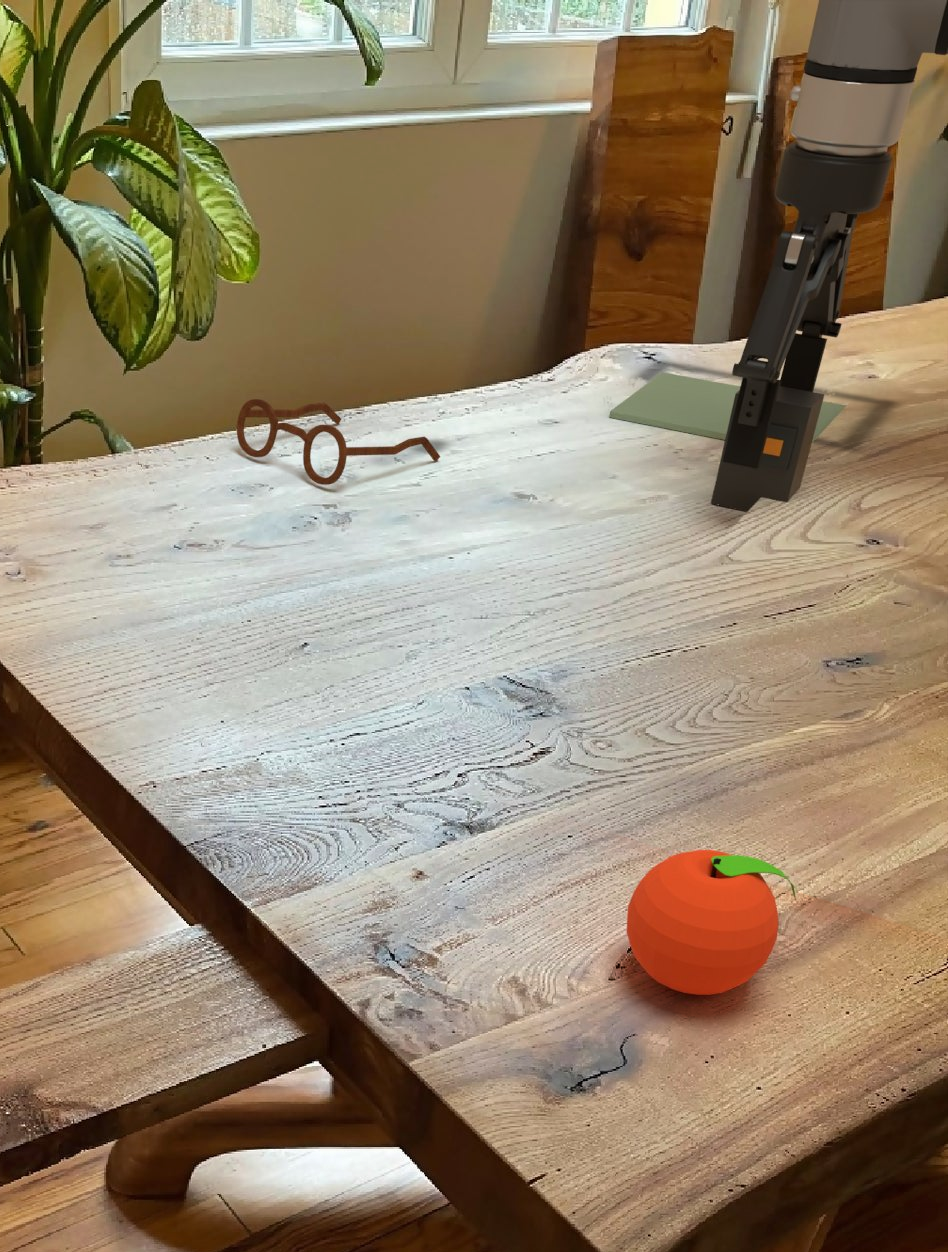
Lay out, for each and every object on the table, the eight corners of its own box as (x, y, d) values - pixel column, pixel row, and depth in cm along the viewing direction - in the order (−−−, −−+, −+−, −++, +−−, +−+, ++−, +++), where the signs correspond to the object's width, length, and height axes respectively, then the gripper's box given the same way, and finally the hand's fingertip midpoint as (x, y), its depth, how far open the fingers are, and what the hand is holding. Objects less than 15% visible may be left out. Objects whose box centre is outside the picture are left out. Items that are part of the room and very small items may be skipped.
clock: (795, 504, 123) (824, 393, 117) (781, 521, 120) (810, 408, 114) (724, 489, 125) (750, 380, 119) (709, 505, 122) (733, 394, 117)
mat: (883, 418, 141) (885, 412, 140) (844, 463, 131) (846, 456, 130) (660, 378, 150) (662, 372, 149) (608, 417, 140) (609, 411, 139)
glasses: (232, 453, 130) (233, 395, 127) (338, 423, 137) (341, 367, 134) (336, 495, 122) (340, 435, 119) (442, 461, 129) (449, 403, 126)
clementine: (742, 929, 75) (777, 812, 71) (804, 1016, 70) (846, 894, 66) (593, 942, 74) (619, 823, 70) (645, 1031, 69) (676, 908, 65)
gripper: (831, 116, 116) (763, 392, 129) (738, 163, 99) (670, 474, 112) (930, 128, 113) (849, 408, 126) (851, 178, 96) (768, 496, 109)
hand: (765, 440), depth 119 cm, fingers open, 13 cm apart
